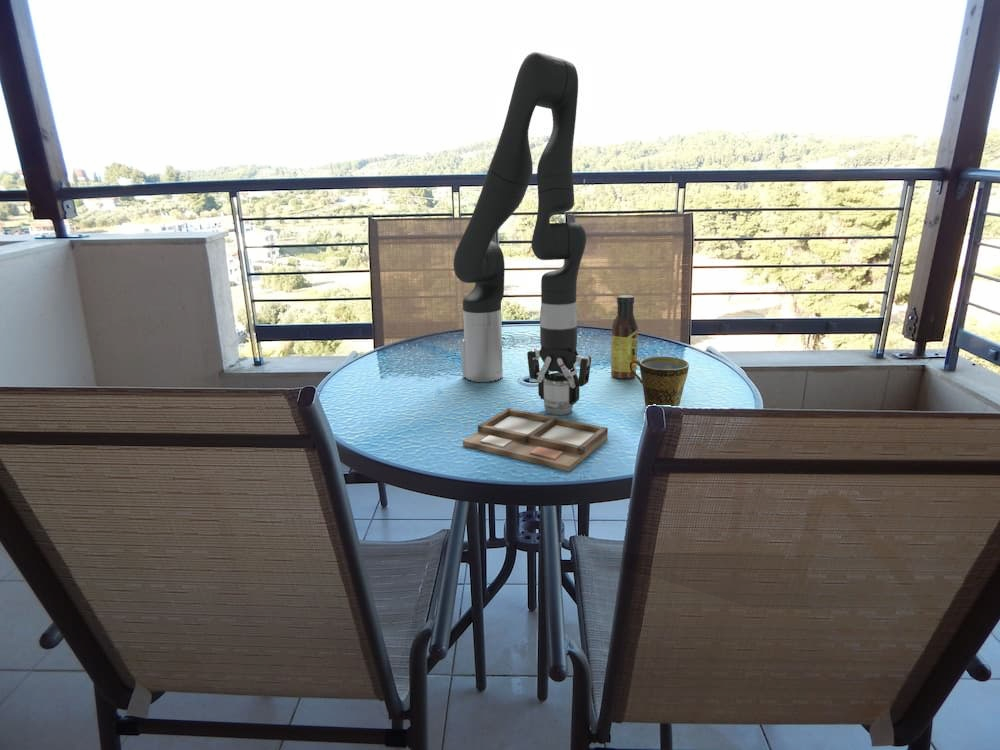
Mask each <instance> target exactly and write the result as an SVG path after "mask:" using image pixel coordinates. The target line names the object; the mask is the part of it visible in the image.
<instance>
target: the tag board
mask: <svg viewBox="0 0 1000 750" xmlns="http://www.w3.org/2000/svg"><path fill="white" fill-rule="evenodd" d="M608 430H609V429H608V427H606V426H600V425H595V424H590V423H584V422H580V421H575V420H569V419H565V418H559V417H555V416H549V415H544V414H539V413H536V412H530V411H529V412H528V411H526V410H525V411H524V410H520V409H515V408H509V407H508V408H505V409H504V410H502V411H500V412H499V413H497V414H496V415H494V416H492V417H490V418H488V419H487V420H485V421H484V422H482V423H480V424H478V425H477V431H476V432H475V433H473V434H472V435H470V436H468V437H467V438H464V439H463V440H462V446H464V447H468V448H472V449H474V450H475V449H476V450H479V451H484V452H488V453H490V454H496V455H499V456H504V457H508V458H512V459H516V460H521V461H524V462H529V463H532V464H536V465H540V466H545V467H548V468H549V467H550V468H552V469H557V470H561V471H566V472H568V473H569V472H571V471H572V470H573V469H575V468H576V467H577V466H578V465H580V463H582V462H583V460H584V459H586V458H587V457H588V456H589V455H591V453H593V452H594V451H595V450H596V449H597V448H598V447H600V446H601V445H602V444H603V443H604V442H606V440H608Z"/></svg>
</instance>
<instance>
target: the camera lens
mask: <svg viewBox="0 0 1000 750" xmlns="http://www.w3.org/2000/svg"><path fill="white" fill-rule="evenodd" d="M570 387H571V386H570V384H569V382H568V380H567V379H566V378H565V376H564V374H563V373H559V372H550V374H549V375H547V376H545V378H544V400H543V404H544V409H545V410H544V411H545V412H546V413H547V414H550V415H555V416H556V415H557V416H562V415H567V414H568V415H569V414H570V413H572V411H573V407H574V405H572V404H570V403H569V395H570Z"/></svg>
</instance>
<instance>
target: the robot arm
mask: <svg viewBox="0 0 1000 750" xmlns="http://www.w3.org/2000/svg"><path fill="white" fill-rule="evenodd" d="M578 96H579V76H578V71H577V67H576V66H575V65H574V63H572V62H570V61H569V60H567V59H564V58H561V57H560V58H559V57H557V56H553V55H549V54H546V53H543V52H539V51H533V52H530V53H529V54H527V55H526V57H525V58H524V59H523V61H522V63H521V65H520V67H519V69H518V72H517V75H516V78H515V82H514V87H513V90H512V94H511V98H510V101H509V105H508V110H507V114H506V117H505V121H504V124H503V126H502V127H503V128H502V130H501V134H500V136H499V139H498V142H497V146H496V147H495V151H494V154H493V156H492V159H491V161H490V164H489V166H488V170H487V173H486V176H485V178H484V181H483V184H482V188H481V191H480V193H479V197H478V200H477V202H476V204H475V207H474V210H473V212H472V215H471V218H470V220H469V222H468V225H467V226H466V229H465V231H464V233H463V235H462V237H461V238H460V241H459V243H458V245H457V248H456V249H455V254H454V257H453V271H454V274H455V276H456V278H457V279H458V280H459V281H461V282H462V283H465V284H474V287H473V289H472V290H471V291H470V292H469V293H468V294H467V295H465V296H464V298H463V300H462V314H463V316H462V317H463V318H462V319H463V337H464V338H463V339H461V341H460V345H461V346H460V348H461V367H462V369H461V370H462V372H461V373H462V378H465V377H466V378H465V379H467V380H469V381H470V380H471V382H476V383H490V381H491V382H495V380H496V381H499V380H500V378H501V379H502V378H503V377H504V376H503V374H504V372H503V371H504V369H503V337H502V335H503V332H502V331H503V328H502V301H503V298H504V296H505V295H504V293H505V271H506V270H505V257H504V253H503V250H502V248H501V247H500V245H499V244H498V243H497V242H495V241H492V240H493V239H494V237H495V234H496V233H497V232H498V230H500V228H501V227H502V226H503V225H504V224H505V222H507V220H508V219H509V218H510V217H511V216H512V214H514V212H516V210H517V209H518V207H519V206H520V205H521V203H522V202H523V200H524V198H525V195H526V192H527V191H528V188H529V185H530V182H531V179H532V176H533V170H534V169H533V168H534V167H533V159H532V153H531V146H530V141H529V130H530V128H529V127H530V123H531V120H532V117H533V113H534V111H535V110H536V107H540V108H545V109H549V110H551V116H552V130H551V134H550V137H549V138H548V141H547V143H546V145H545V147H544V149H543V151H542V153H541V155H540V158H539V161H538V165H537V169H536V179H537V184H536V185H537V196H538V197H537V202H538V203H537V214H536V220H535V225H534V229H533V234H532V238H531V250H532V252H533V254H534V256H535V258H537V259H538V260H541V261H553V260H555V261H557V260H558V261H559V260H565V262H564V264H563V266H561V267H560V268H559V269H555V270H551V271H548V272H546V273H544V274H543V275H542V276H541V280H540V282H541V283H540V288H541V289H540V290H541V291H540V293H541V294H540V296H541V299H540V300H541V301H540V304H541V305H540V312H539V326H540V327H539V337H540V338H539V340H540V342H539V343H540V344H539V345H540V349H536V348H533V349H531V350H529V351H528V352H526V353H527V354H526V355H527V365H528V373H529V379H532V380H535V381H537V385H538V393H537V394H538V396H539V397H540V400H543V401H544V378H545V376H547V375H549V374H551V373H555V372H556V373H558V372H559V373H563V374H564V376H565V378H566V379H567V380H568V382H569V384H570V386H571V387H570V395H569V403H570V404H572V405H573V406H574V405H575V404H577V403H578V402H579V401H580V387H581V388H582V387H584V386H585V385H586V384H588V383H589V379H590V371H591V365H592V364H591V363H592V357H591V355H587V356H583V355H579V353H578V351H577V347H578V308H577V281H578V274H579V270H580V265H581V263H582V259H583V256H584V252H585V248H586V246H587V245H586V244H587V234H586V230H585V229H584V227H583V226H582V224H580V223H578V222H556V223H555V222H553V223H552V222H551V223H550V219H551V218H552V217H554V216H556V215H560V214H563V213H567V212H569V211H571V209H573V207H574V206H575V191H574V189H575V188H574V173H573V153H574V151H573V149H574V137H575V130H576V119H577V118H576V117H577V107H578ZM540 359H541V361H542V363H543V364H542V366H541V368H540V361H539V360H540ZM576 362H577V363H578V364H577V366H578V367H579V373H578V369H577V367H576V366H575V364H576ZM502 376H503V377H502ZM498 379H499V380H498Z"/></svg>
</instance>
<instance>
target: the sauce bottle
mask: <svg viewBox="0 0 1000 750" xmlns="http://www.w3.org/2000/svg"><path fill="white" fill-rule="evenodd" d="M616 303H617V311H616V313H617V315H616V316H615V319H614V320H613V322H612V326H611V329H612V330H611V333H612V334H611V344H610V348H611V349H610V350H611V351H610V370H611V371H610V374H611V376H612V377H613V378H615V379H623V380H625V379H626V380H628V379H632V378H635V377H636V376H635V375H634V374H633V373H632V372H631V370H630V363H631V362H632V361H634V360H638V337H639V328H638V325H637V321H636V318H635V315H634V303H635V296H634V295H629V294H621V295H617V297H616ZM637 367H638V365H637V364H636V363H633V364H632V369H633V370H634V372H635V373H636V374H637Z"/></svg>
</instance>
